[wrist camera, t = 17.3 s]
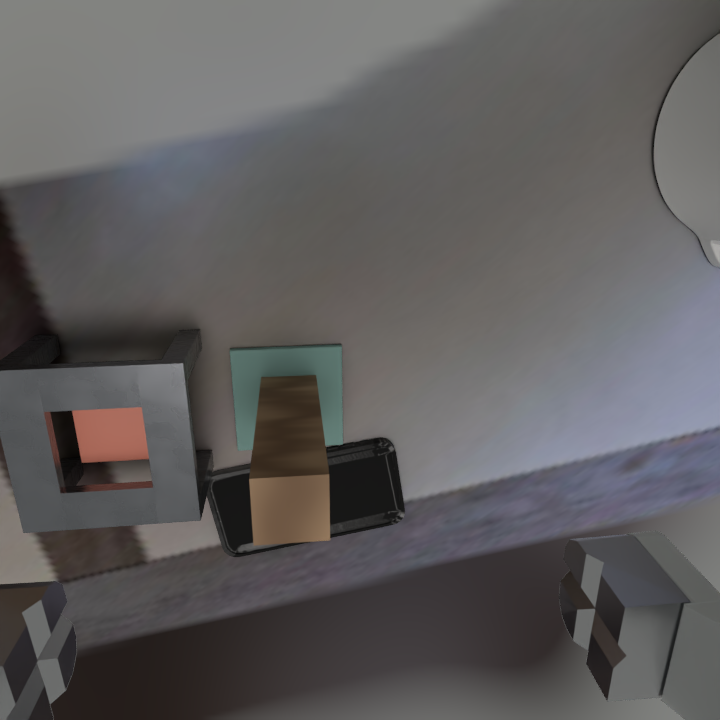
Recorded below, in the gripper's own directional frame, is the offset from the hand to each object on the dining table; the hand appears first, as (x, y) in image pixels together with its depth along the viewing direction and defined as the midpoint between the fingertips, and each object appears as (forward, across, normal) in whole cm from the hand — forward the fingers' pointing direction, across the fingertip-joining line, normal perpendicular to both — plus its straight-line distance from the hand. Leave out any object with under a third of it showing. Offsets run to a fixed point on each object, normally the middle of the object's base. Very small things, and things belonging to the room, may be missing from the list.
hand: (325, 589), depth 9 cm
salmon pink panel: (+30, +13, +11) cm, 35 cm away
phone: (+32, +1, +20) cm, 38 cm away
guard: (+32, +13, +11) cm, 36 cm away
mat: (+32, +2, +11) cm, 34 cm away
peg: (+32, +2, +11) cm, 33 cm away
